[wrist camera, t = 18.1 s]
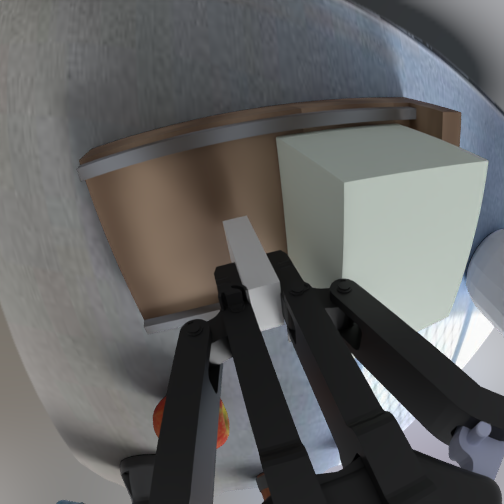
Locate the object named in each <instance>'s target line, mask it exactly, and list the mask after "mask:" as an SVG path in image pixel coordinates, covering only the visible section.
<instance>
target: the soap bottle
mask: <svg viewBox="0 0 504 504" xmlns="http://www.w3.org/2000/svg"><path fill="white" fill-rule="evenodd" d="M466 287H467V289H468V292H469V295H470V297H471V299H472V301H473V303H474V304H475V306H476V307H477V308H478V309H479V310H480V311H481V312H482V313H483V315H484V316H485V317H486V318H487V319H488V320H489V321H490V322H491V323H492V324H493V325H494V327H495V328H496V329H497V330H498V331H499V332H500V333H501V334H502V335H503V337H504V229H500V230H497V231H495V232H493V233H492V234H490V235H489V236H488V237H486V238H485V239H484V240H483V241H482V243H481V244H480V245H479V246H478V248H477V249H476V251H475V253H474V254H473V256H472V258H471V261H470V263H469V266H468V271H467V279H466Z"/></svg>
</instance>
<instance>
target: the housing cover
mask: <svg viewBox="0 0 504 504" xmlns="http://www.w3.org/2000/svg"><path fill="white" fill-rule="evenodd" d="M276 143H277V152H278V160H279V169H280V178H281V188H282V197H283V207H284V217H285V227H286V238H287V249H288V256H289V258H290V259H291V261H292V263H293V264H294V266H295V268H296V269H297V271H298V273H299V274H300V276H301V278H302V279H303V281H304V282H306V283H309V284H310V285H311V286H312V287H313V288H330V285H331V283H332V282H334V281H335V280H338V279H350V280H352V281H354V282H356V283H357V284H358V285H359V286H361V287H362V288H363V289H365V290H366V291H367V292H368V293H370V294H371V295H372V296H373V297H375V298H376V299H377V300H378V301H380V302H381V303H382V304H383V305H385V306H386V307H387V308H388V309H390V310H391V311H392V312H393V313H394V314H396V315H397V316H398V317H399V318H401V319H402V320H403V321H404V322H406V323H407V324H408V325H409V326H410V327H412V328H413V329H414V330H415V331H416V332H418V331H420V330H422V329H424V328H426V327H428V326H430V325H432V324H434V323H436V322H439V321H441V320H442V319H444V318H446V317H448V316H449V314H450V311H451V309H452V306H453V303H454V301H455V298H456V295H457V292H458V289H459V286H460V283H461V280H462V277H463V274H464V271H465V268H466V264H467V261H468V258H469V254H470V250H471V247H472V243H473V239H474V235H475V231H476V227H477V223H478V218H479V214H480V209H481V204H482V199H483V193H484V188H485V182H486V175H487V168H488V160H486V159H484V158H482V157H480V156H478V155H475V154H473V153H471V152H469V151H467V150H464V149H462V148H460V147H457V146H455V145H453V144H450V143H448V142H446V141H443V140H441V139H438V138H436V137H433V136H430V135H428V134H425V133H423V132H420V131H417V130H414V129H411V128H409V127H406V126H403V125H400V124H381V125H368V126H357V127H346V128H337V129H328V130H320V131H312V132H305V133H297V134H291V135H284V136H278V137H276ZM352 356H353V355H352ZM353 358H355V357H354V356H353Z"/></svg>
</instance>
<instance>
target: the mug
mask: <svg viewBox="0 0 504 504" xmlns="http://www.w3.org/2000/svg"><path fill="white" fill-rule="evenodd" d="M256 481H257V485H258V488H259V490H260V492H261V493H262V495H263V499H264V501H265V499H266V498H268V497H269V496H270V495H271V494H270V491H269V488H268V484H267V481H266V478H265V475H264V472H263V473H261V474H259V475H258V476H257V479H256Z"/></svg>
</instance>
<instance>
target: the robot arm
mask: <svg viewBox="0 0 504 504" xmlns="http://www.w3.org/2000/svg"><path fill="white" fill-rule="evenodd" d="M223 226H224V231H225V235H226V240H227V244H228V249H229V253H230V258H231V261H232V263H229V264H225V265H221V266H217V267H216V269H215V272H214V277H215V281H216V285H217V290H218V300H219V303H220V307H221V309H220V311H219V313H218V314H217V315H216V316H215V317H214V318H212V319H211V320H209V321H205V320H203V319H193V320H190V321H188V322H186V323H185V324H184V325H183V326H182V328H181V330H180V333H179V338H178V342H177V347H176V351H175V356H174V361H173V366H172V370H171V375H170V380H169V385H168V390H167V395H166V401H165V406H164V411H163V417H162V422H161V428H160V433H159V439H158V445H157V451H156V455H142V456H134V457H130V458H127V459H124V460H123V461H121V463H120V472H121V476H122V479H123V481H124V483H125V486H126V488H127V490H128V493H129V495H130V497H131V500H132V504H213V494H214V477H215V462H216V448H217V433H218V420H219V407H220V394H221V381H222V369H223V362H225V361H226V360H228V359H230V358H232V357H233V359H234V363H235V367H236V371H237V375H238V379H239V383H240V386H241V390H242V394H243V398H244V401H245V405H246V409H247V412H248V416H249V420H250V423H251V427H252V430H253V434H254V438H255V441H256V445H257V448H258V451H259V455H260V461H261V464H262V468H263V471H264V475H265V478H266V481H267V484H268V488H269V491H270V494H271V495H270V496H269V497H268V498H266V499H265V501H264V502H263V503H262V504H502V495H501V491H500V488H499V486H498V485H497V484H496V482H495V481H494V480H495V477H496V475H497V472H498V470H499V467H500V465H501V462H502V459H503V456H504V396H502V395H499V394H497V393H494V392H492V391H490V390H487V389H485V388H483V387H480V386H479V385H478V384H477V383H476V382H475V381H474V380H472V379H471V378H470V377H469V376H468V375H467V374H466V373H465V372H463V371H462V370H461V369H460V368H459V367H458V366H457V365H455V364H454V363H453V362H452V361H451V360H450V359H448V358H447V357H446V356H445V355H444V354H443V353H441V352H440V351H439V350H438V349H437V348H436V347H434V346H433V345H432V344H431V343H430V342H428V341H427V340H426V339H425V338H424V337H422V336H421V335H420V334H419V333H418V332H416V331H415V330H414V329H413V328H412V327H410V326H409V325H408V324H407V323H406V322H404V321H403V320H402V319H401V318H399V317H398V316H397V315H396V314H394V313H393V312H392V311H391V310H390V309H388V308H387V307H386V306H385V305H383V304H382V303H381V302H380V301H378V300H377V299H376V298H375V297H373V296H372V295H371V294H370V293H368V292H367V291H366V290H365V289H363V288H362V287H361V286H359V285H358V284H357V283H356V282H354V281H352V280H350V279H338V280H335V281H334V282H332V283H331V285H330V288H313V287H312V286H311V285H310V284H309V283H306V282H304V281H303V279H302V278H301V276H300V274H299V273H298V271H297V269H296V268H295V266H294V264H293V263H292V261H291V259H290V258H289V256H288V254H287V253H285V252H283V251H282V250H278V251H274V252H270V253H265V251H264V249H263V247H262V245H261V243H260V241H259V239H258V237H257V235H256V233H255V231H254V229H253V227H252V225H251V223H250V221H249V219H248V217H247V216H242V217H238V218H234V219H230V220H226V221H223ZM284 319H285V322H286V324H287V332H288V341H289V342H291V341H292V343H293V346H294V348H295V350H296V353H297V355H298V357H299V360H300V362H301V364H302V367H303V369H304V371H305V373H306V376H307V378H308V380H309V383H310V385H311V387H312V390H313V392H314V394H315V397H316V399H317V401H318V403H319V406H320V408H321V410H322V413H323V415H324V417H325V420H326V422H327V424H328V427H329V429H330V431H331V434H332V436H333V438H334V440H335V443H336V445H337V447H338V450H339V454H340V460H341V463H342V466H343V469H342V470H340V471H338V472H332V473H324V474H315V471H314V469H313V466H312V464H311V461H310V459H309V456H308V453H307V451H306V449H305V447H304V445H303V444H302V442H301V440H300V438H299V435H298V432H297V430H296V427H295V424H294V422H293V419H292V416H291V413H290V411H289V408H288V405H287V403H286V400H285V397H284V394H283V392H282V389H281V386H280V383H279V381H278V378H277V375H276V372H275V370H274V367H273V364H272V361H271V359H270V356H269V353H268V350H267V347H266V345H265V342H264V339H263V336H262V333H261V331H263V330H267V329H271V328H274V327H278V326H281V325H285V324H284ZM352 355H353V356H354V357H355V358H356V359H357V360H358V361H359V362H360V363H361V364H362V365H363V366H364V367H365V368H366V369H367V370H368V371H369V372H370V373H371V374H372V375H373V376H374V377H375V378H376V379H377V380H378V381H379V382H380V383H381V384H382V385H383V386H384V387H385V388H386V389H387V390H388V391H389V392H390V393H391V394H392V395H393V396H394V397H395V398H396V399H397V400H398V401H399V402H400V403H401V404H402V405H403V406H404V407H405V408H406V409H407V410H408V411H409V412H410V413H411V414H412V415H413V416H414V417H415V418H416V419H417V420H418V421H419V422H420V423H421V424H422V425H423V426H424V427H425V428H426V429H427V430H428V431H429V432H430V433H431V434H432V435H433V436H435V437H436V438H437V439H439V440H440V441H442V442H443V443H445V444H447V445H449V458H450V459H451V460H453V461H456V462H457V463H458V464H459V465H460V467H461V468H460V467H457V466H454V465H452V464H449V463H446V462H444V461H441V460H438V459H436V458H433V457H431V456H428V455H426V454H423V453H421V452H418V451H416V450H413V449H412V448H411V446H410V444H409V442H408V440H407V439H406V437H405V435H404V433H403V431H402V430H401V428H400V426H399V424H398V422H397V420H396V419H395V417H394V416H393V415H392V414H391V413H390V412H388V411H384V410H383V409H382V407H381V406H380V404H379V402H378V400H377V398H376V397H375V395H374V393H373V391H372V389H371V388H370V386H369V384H368V382H367V380H366V379H365V377H364V375H363V373H362V372H361V370H360V368H359V366H358V365H357V363H356V361H355V359H354V358H353V356H352ZM56 504H84V503H83V502H81V503H77V502H72V501H67V500H61V501H58V502H57V503H56Z"/></svg>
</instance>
